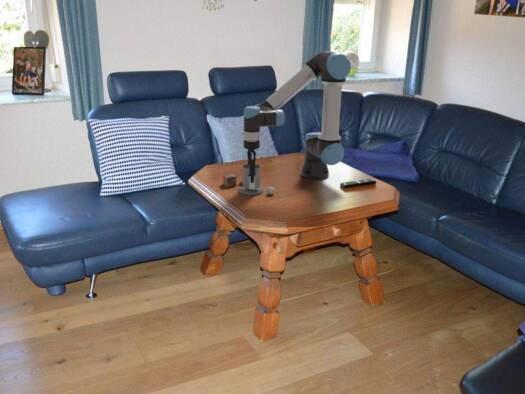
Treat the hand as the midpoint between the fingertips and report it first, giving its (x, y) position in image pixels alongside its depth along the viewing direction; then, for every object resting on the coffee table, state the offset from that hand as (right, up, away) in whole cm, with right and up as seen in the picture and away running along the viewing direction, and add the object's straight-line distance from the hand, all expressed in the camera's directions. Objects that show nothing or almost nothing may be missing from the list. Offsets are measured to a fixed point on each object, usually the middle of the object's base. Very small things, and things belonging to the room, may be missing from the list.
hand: (251, 185), depth 248 cm
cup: (0, -1, 0) cm, 1 cm away
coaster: (0, -3, +1) cm, 3 cm away
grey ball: (+9, -4, -3) cm, 11 cm away
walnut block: (-11, 0, +9) cm, 14 cm away
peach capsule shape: (-2, +2, +14) cm, 14 cm away
